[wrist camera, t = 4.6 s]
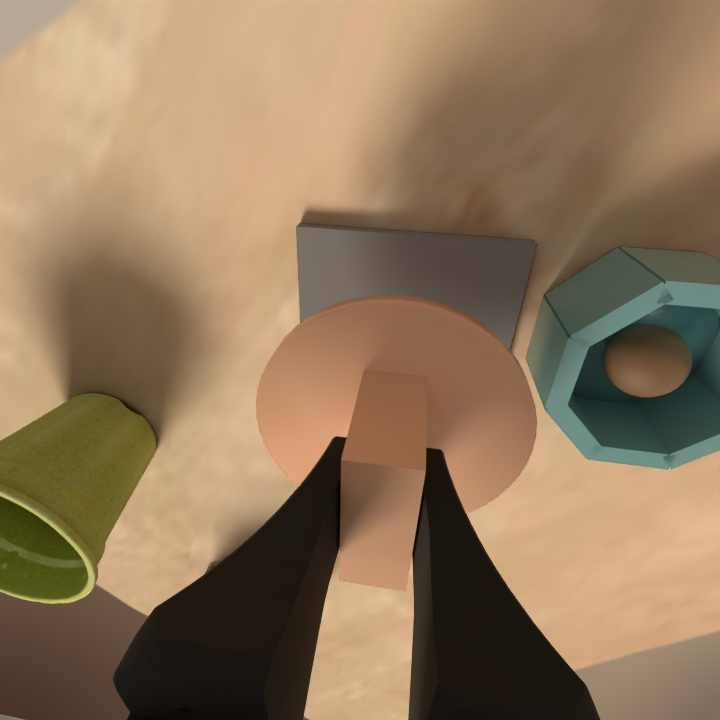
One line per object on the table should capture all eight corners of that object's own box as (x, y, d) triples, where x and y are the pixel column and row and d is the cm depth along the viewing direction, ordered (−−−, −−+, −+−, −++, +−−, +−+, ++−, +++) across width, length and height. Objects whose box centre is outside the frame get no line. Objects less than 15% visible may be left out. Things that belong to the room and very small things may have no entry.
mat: (533, 240, 17) (536, 244, 17) (487, 425, 23) (488, 432, 22) (299, 223, 18) (296, 226, 18) (306, 403, 24) (304, 410, 23)
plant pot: (158, 370, 24) (37, 486, 17) (199, 485, 29) (119, 614, 21) (17, 365, 25) (-150, 469, 18) (79, 476, 30) (-34, 594, 23)
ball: (681, 315, 17) (724, 350, 15) (653, 375, 19) (687, 416, 16) (606, 309, 18) (635, 342, 15) (584, 368, 19) (607, 407, 17)
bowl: (770, 257, 16) (858, 296, 13) (681, 416, 21) (730, 477, 17) (558, 242, 17) (589, 274, 14) (514, 397, 21) (530, 452, 18)
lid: (568, 309, 12) (637, 412, 8) (499, 522, 17) (520, 652, 13) (251, 281, 13) (170, 360, 9) (273, 491, 18) (228, 601, 14)
